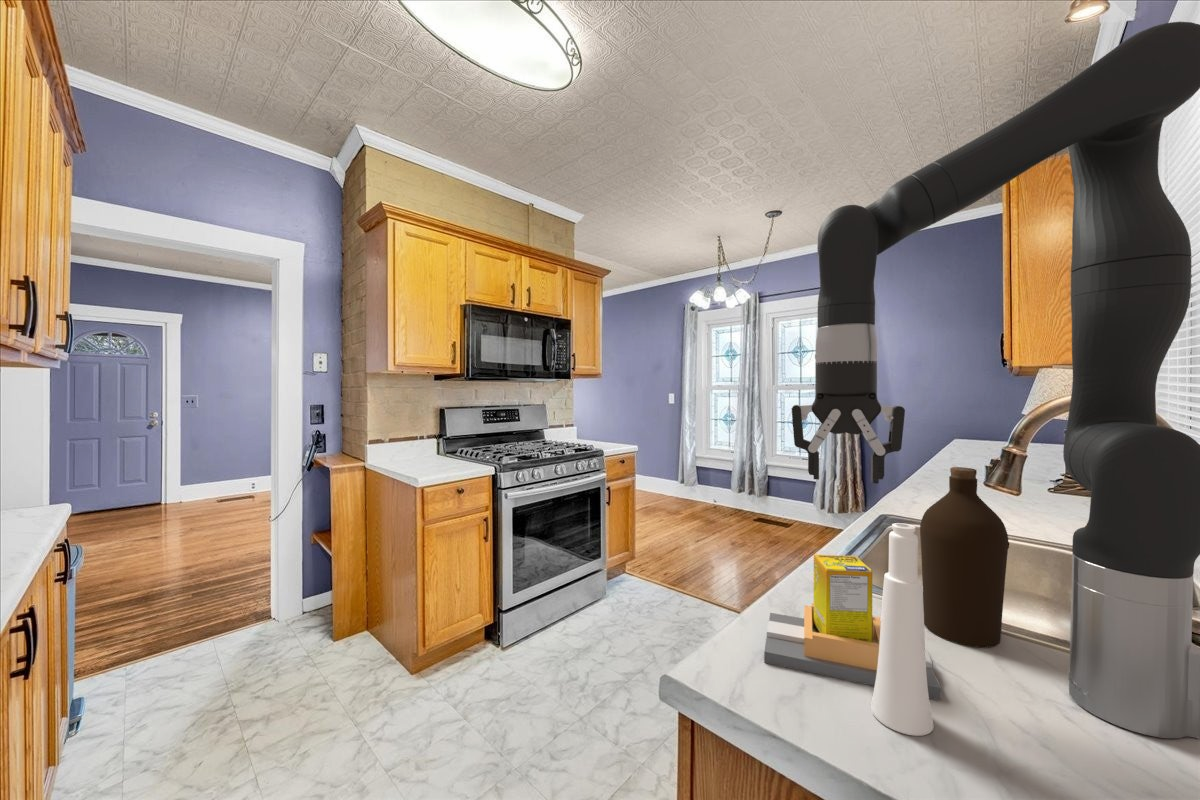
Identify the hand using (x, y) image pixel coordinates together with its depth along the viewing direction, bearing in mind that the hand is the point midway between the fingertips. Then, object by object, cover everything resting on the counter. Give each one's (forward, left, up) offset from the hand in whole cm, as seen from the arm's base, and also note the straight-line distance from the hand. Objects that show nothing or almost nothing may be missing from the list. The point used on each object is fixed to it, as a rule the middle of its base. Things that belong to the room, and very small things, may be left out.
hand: (844, 480), depth 66 cm
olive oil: (-17, -14, -25) cm, 33 cm away
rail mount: (0, 0, -25) cm, 25 cm away
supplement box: (0, 0, -23) cm, 23 cm away
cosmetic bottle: (-5, +11, -25) cm, 28 cm away
